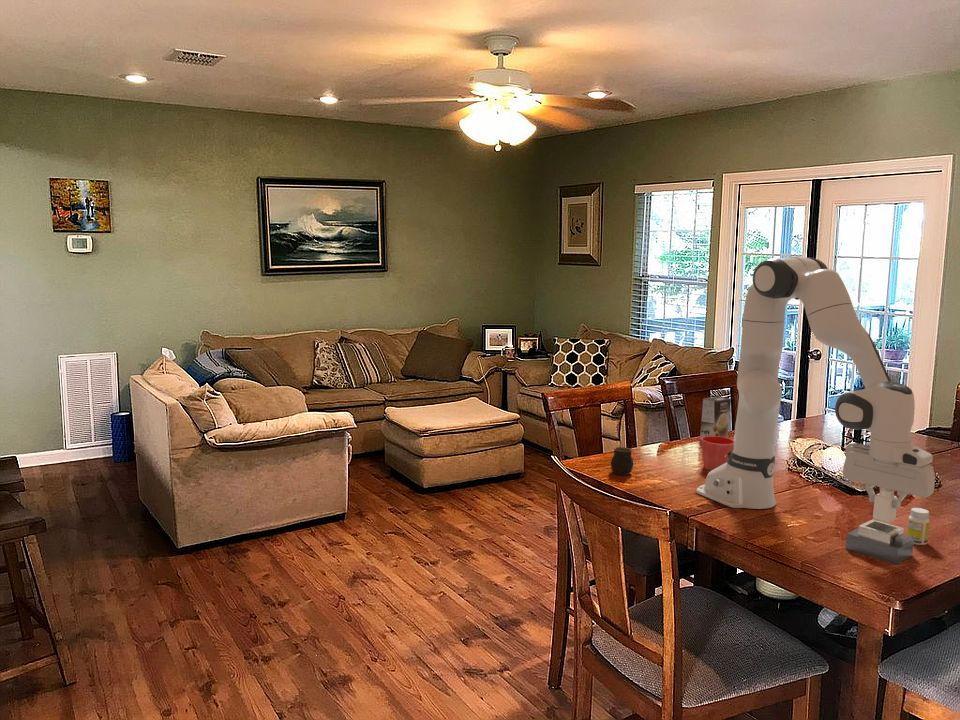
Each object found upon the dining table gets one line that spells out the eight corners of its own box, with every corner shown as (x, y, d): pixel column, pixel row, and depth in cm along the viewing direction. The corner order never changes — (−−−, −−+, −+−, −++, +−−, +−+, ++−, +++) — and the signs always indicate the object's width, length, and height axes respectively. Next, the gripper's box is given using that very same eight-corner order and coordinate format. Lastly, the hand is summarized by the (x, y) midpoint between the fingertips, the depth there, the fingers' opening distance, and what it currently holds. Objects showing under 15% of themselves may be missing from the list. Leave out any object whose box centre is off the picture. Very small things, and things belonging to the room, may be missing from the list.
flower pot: (728, 464, 265) (731, 436, 263) (736, 473, 254) (738, 444, 252) (696, 462, 266) (698, 434, 264) (702, 472, 255) (704, 443, 253)
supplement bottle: (920, 538, 202) (924, 507, 201) (931, 545, 197) (935, 513, 196) (902, 538, 202) (905, 507, 200) (912, 545, 197) (916, 513, 196)
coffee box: (714, 443, 291) (717, 401, 288) (699, 440, 295) (702, 398, 293) (728, 440, 296) (731, 398, 294) (713, 436, 301) (716, 395, 299)
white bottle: (880, 516, 194) (884, 479, 192) (896, 521, 191) (900, 483, 189) (871, 519, 192) (875, 481, 190) (887, 524, 188) (891, 486, 187)
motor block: (845, 548, 194) (848, 523, 193) (862, 540, 200) (864, 516, 199) (896, 564, 185) (899, 538, 184) (912, 555, 191) (915, 530, 189)
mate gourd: (615, 468, 257) (617, 438, 255) (637, 472, 253) (639, 443, 251) (606, 473, 251) (608, 443, 249) (628, 478, 247) (630, 447, 245)
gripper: (840, 443, 194) (835, 496, 196) (929, 461, 178) (923, 519, 181) (852, 439, 198) (847, 491, 200) (940, 456, 182) (934, 513, 185)
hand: (884, 505), depth 190 cm, fingers closed on white bottle, 4 cm apart
